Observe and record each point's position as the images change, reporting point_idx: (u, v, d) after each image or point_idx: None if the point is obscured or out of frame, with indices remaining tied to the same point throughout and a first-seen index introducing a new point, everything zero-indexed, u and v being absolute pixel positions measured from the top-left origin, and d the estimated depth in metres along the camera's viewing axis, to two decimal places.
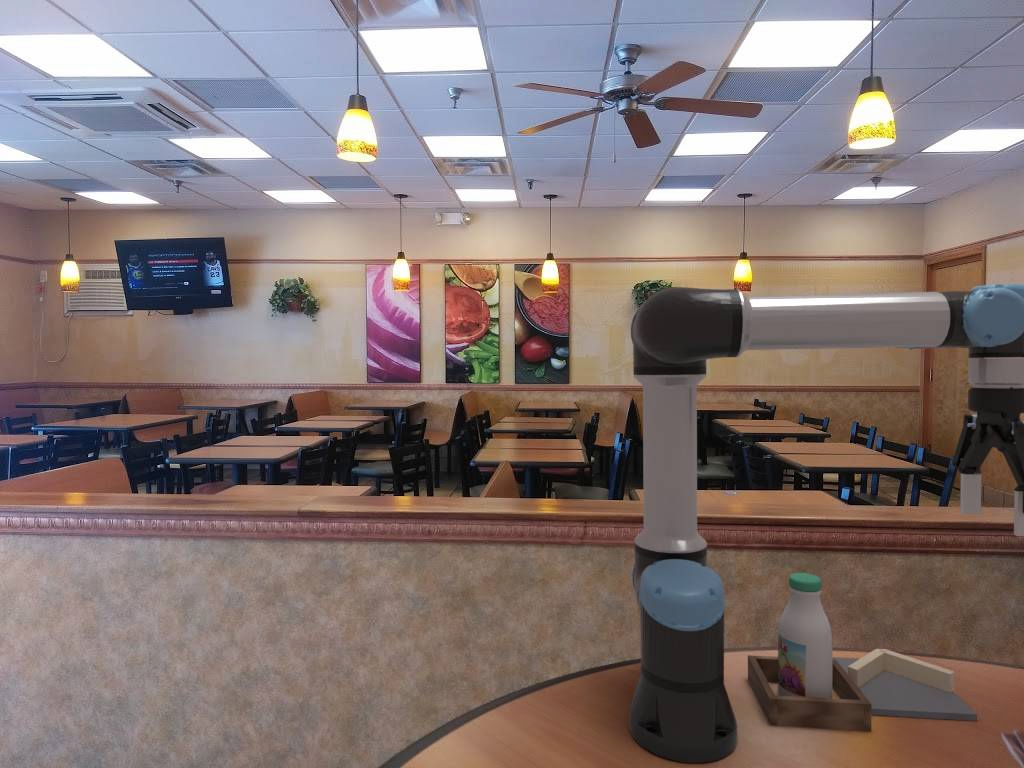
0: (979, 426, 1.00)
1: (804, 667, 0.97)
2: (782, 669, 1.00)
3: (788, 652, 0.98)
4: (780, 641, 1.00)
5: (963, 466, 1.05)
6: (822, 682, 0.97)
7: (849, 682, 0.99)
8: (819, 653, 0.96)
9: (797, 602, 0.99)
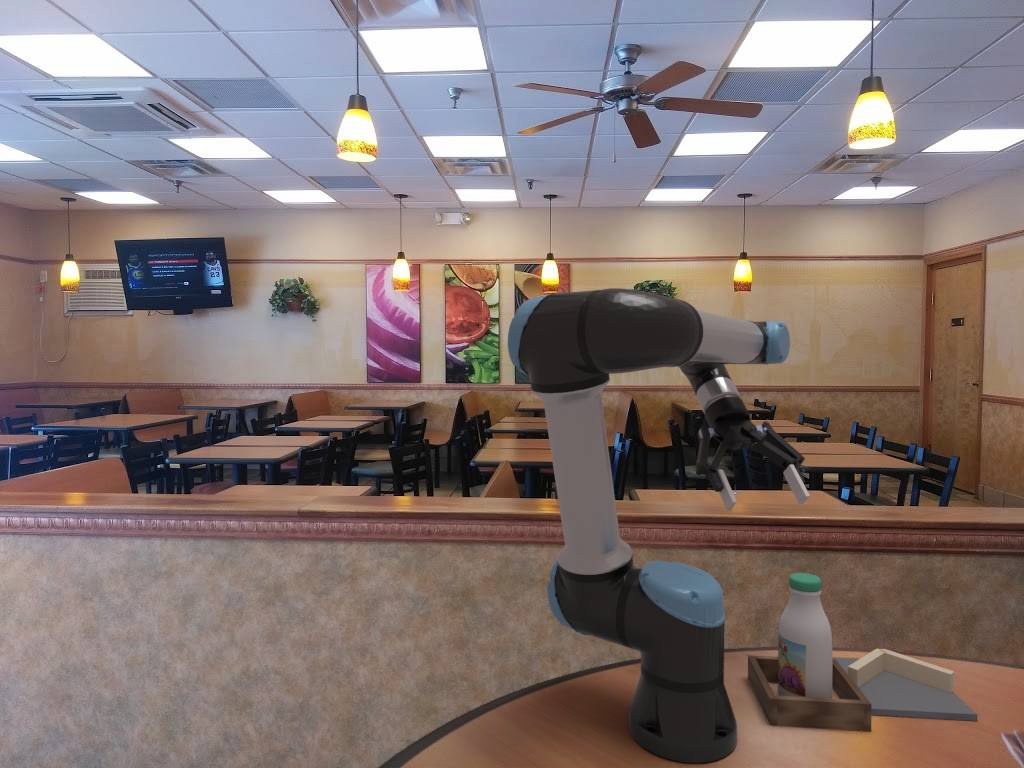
0: (733, 427, 1.17)
1: (804, 667, 0.97)
2: (782, 669, 1.00)
3: (788, 652, 0.98)
4: (780, 641, 1.00)
5: (718, 463, 1.12)
6: (822, 682, 0.97)
7: (849, 682, 0.99)
8: (819, 653, 0.96)
9: (797, 602, 0.99)
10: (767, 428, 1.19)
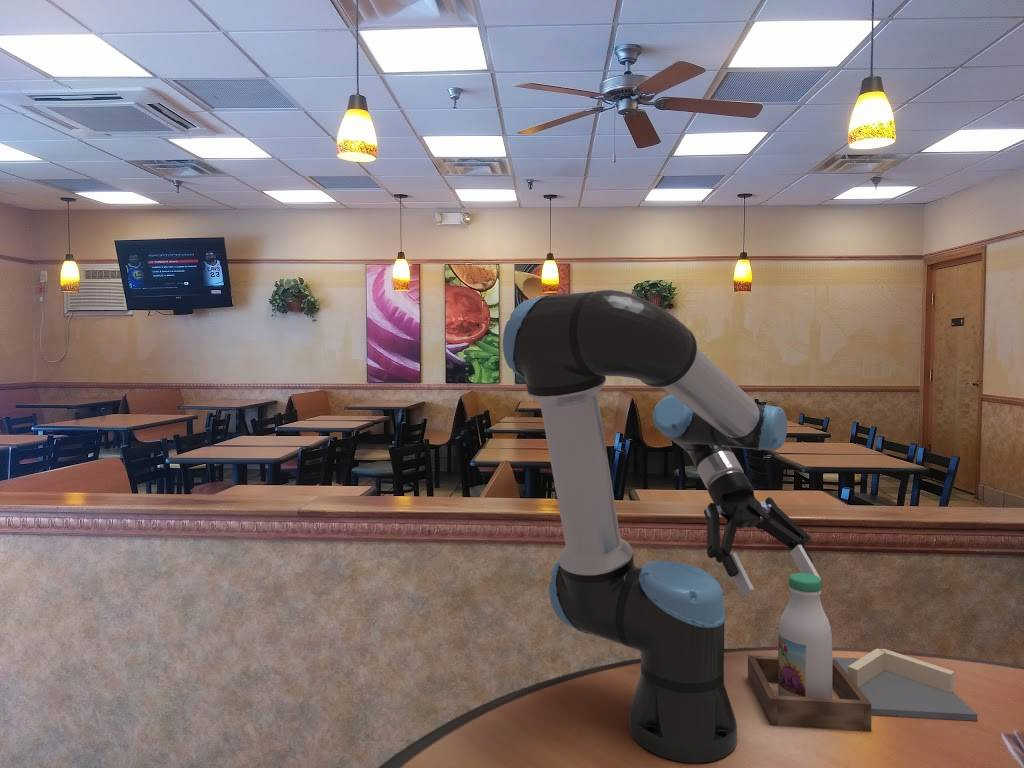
0: (741, 505, 1.14)
1: (804, 667, 0.97)
2: (782, 669, 1.00)
3: (788, 652, 0.98)
4: (780, 641, 1.00)
5: (730, 546, 1.09)
6: (822, 682, 0.97)
7: (849, 682, 0.99)
8: (819, 653, 0.96)
9: (797, 602, 0.99)
10: (771, 505, 1.17)
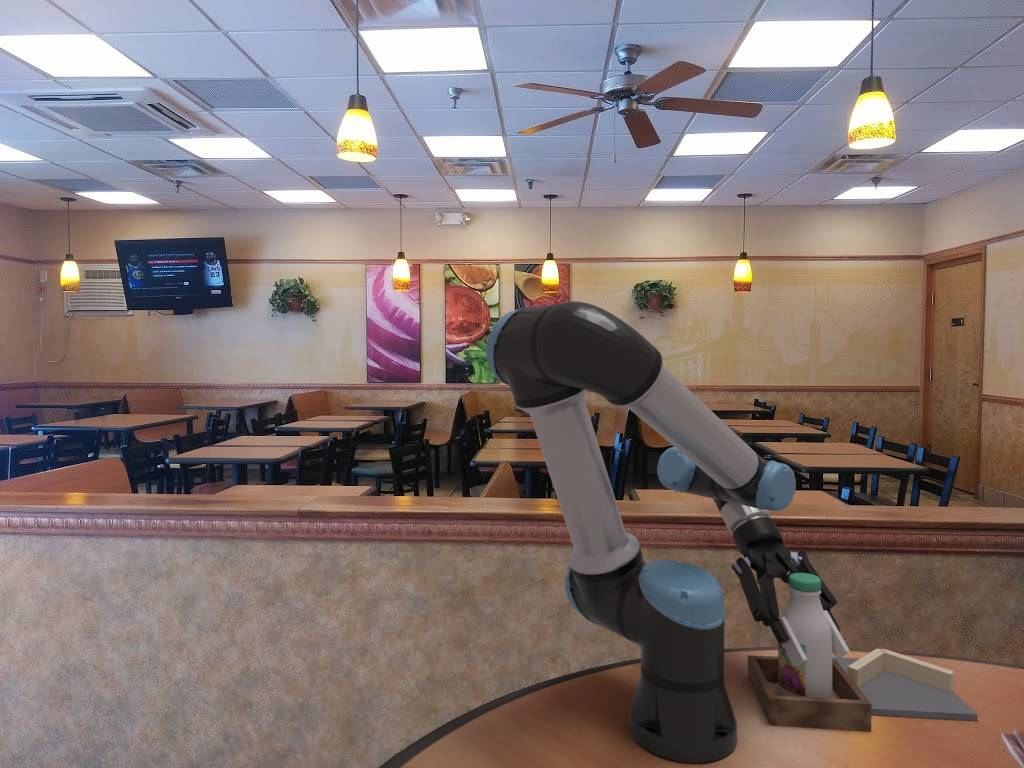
0: (768, 553, 1.06)
1: (804, 667, 0.97)
2: (782, 669, 1.00)
3: None
4: None
5: (776, 607, 1.00)
6: (822, 682, 0.97)
7: (849, 682, 0.99)
8: (819, 653, 0.96)
9: (796, 602, 0.99)
10: (802, 558, 1.08)
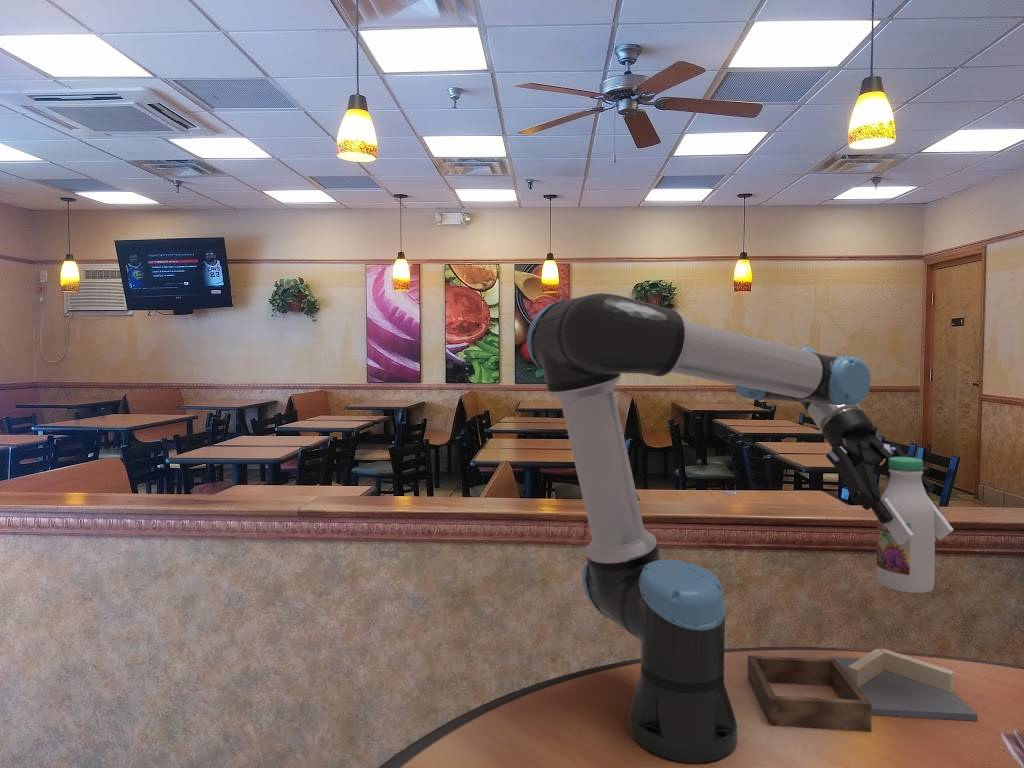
0: (863, 442, 1.06)
1: (908, 545, 0.97)
2: (883, 551, 1.00)
3: None
4: (881, 523, 1.00)
5: (877, 489, 1.00)
6: (926, 560, 0.97)
7: (849, 682, 0.99)
8: (924, 531, 0.96)
9: (898, 483, 0.99)
10: (896, 448, 1.08)
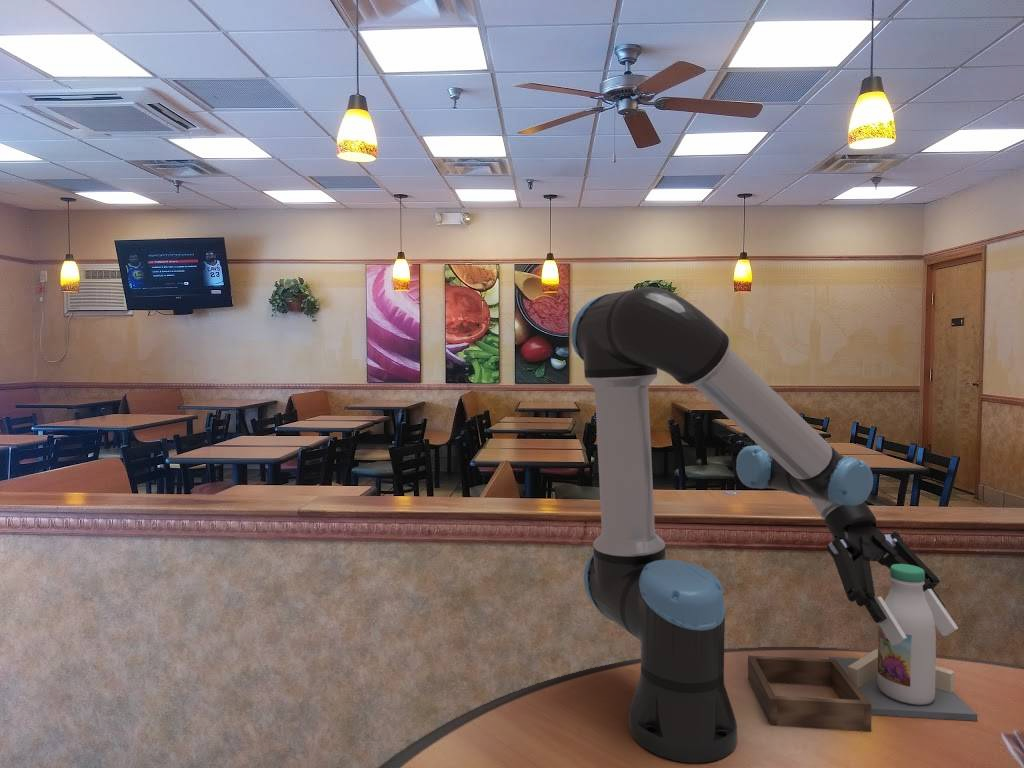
0: (865, 537, 1.06)
1: (909, 657, 0.97)
2: (884, 659, 1.00)
3: None
4: (882, 631, 1.01)
5: (872, 587, 1.00)
6: (927, 672, 0.97)
7: (849, 682, 0.99)
8: (925, 643, 0.97)
9: (900, 592, 0.99)
10: (897, 540, 1.08)
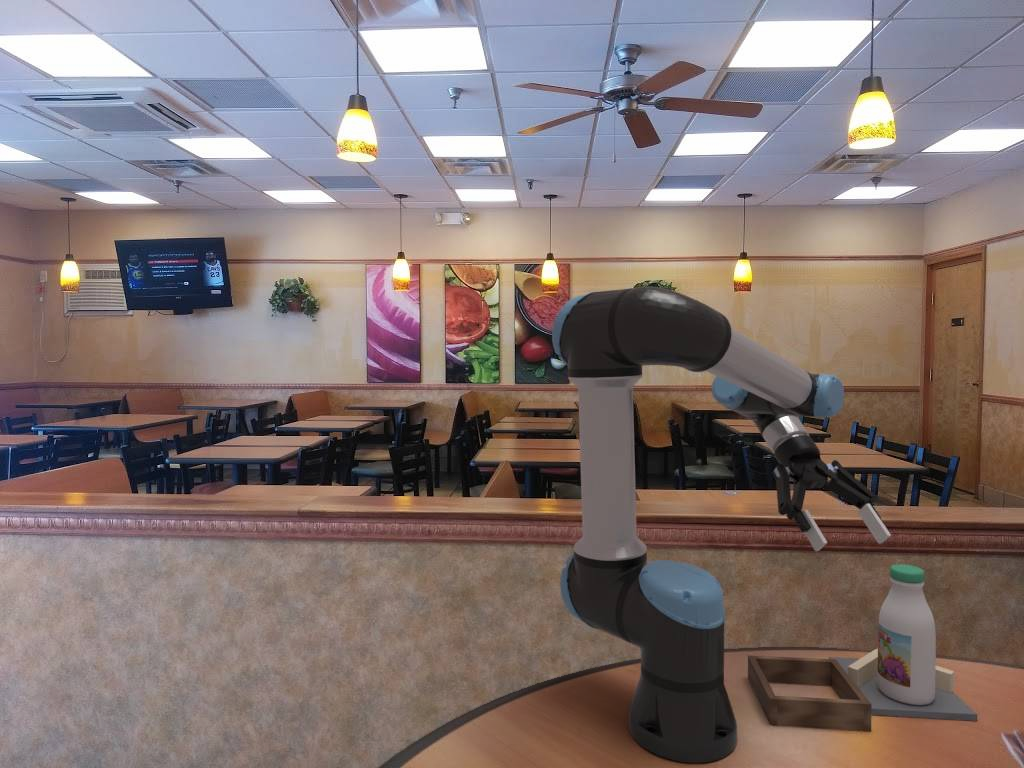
0: (809, 466, 1.18)
1: (909, 658, 0.97)
2: (884, 660, 1.00)
3: (892, 643, 0.99)
4: (882, 632, 1.00)
5: (801, 503, 1.12)
6: (927, 673, 0.97)
7: (849, 682, 0.99)
8: (925, 644, 0.97)
9: (900, 593, 0.99)
10: (838, 467, 1.21)
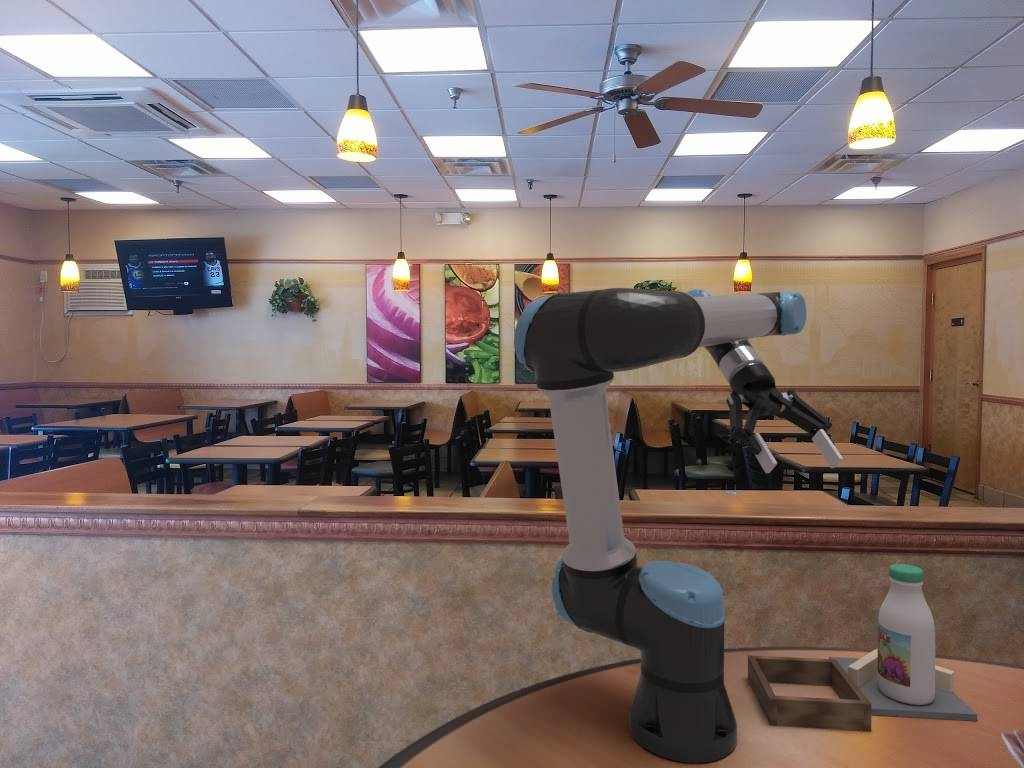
0: (763, 393, 1.17)
1: (909, 657, 0.97)
2: (884, 660, 1.00)
3: (891, 642, 0.99)
4: (881, 632, 1.01)
5: (753, 427, 1.11)
6: (927, 672, 0.97)
7: (849, 682, 0.99)
8: (924, 643, 0.97)
9: (899, 593, 0.99)
10: (793, 395, 1.19)
